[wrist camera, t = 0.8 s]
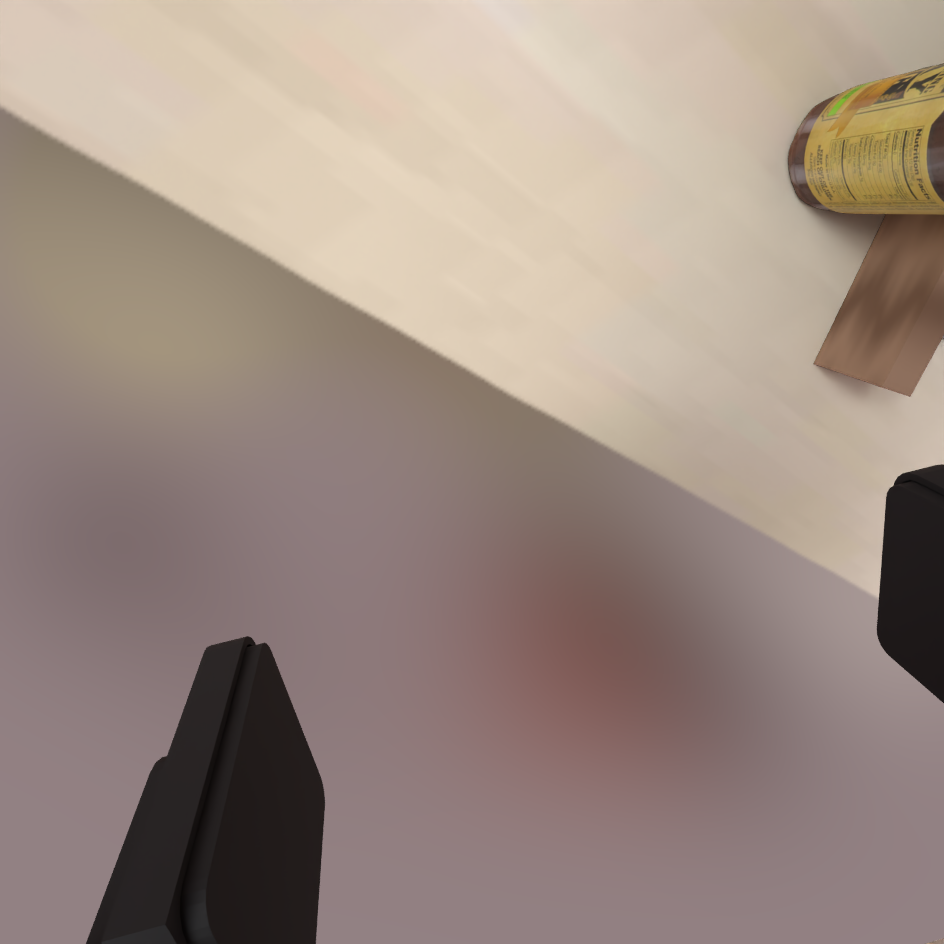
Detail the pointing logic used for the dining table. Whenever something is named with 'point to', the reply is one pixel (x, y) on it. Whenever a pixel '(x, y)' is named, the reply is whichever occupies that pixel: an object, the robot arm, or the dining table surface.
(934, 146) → the sauce bottle
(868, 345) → the walnut wall
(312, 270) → the dining table surface
